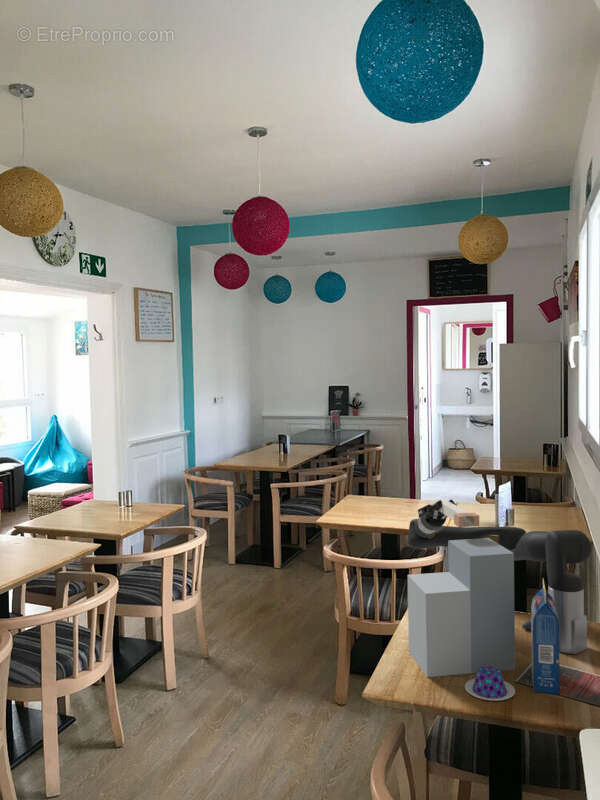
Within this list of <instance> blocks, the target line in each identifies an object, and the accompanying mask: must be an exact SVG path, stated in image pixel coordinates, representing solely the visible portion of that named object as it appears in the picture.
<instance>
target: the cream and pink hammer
mask: <svg viewBox="0 0 600 800" xmlns="http://www.w3.org/2000/svg"><path fill="white" fill-rule="evenodd" d="M439 500H441V501H442V508H441V509H440V510H438V511H440V512H441V513H443V514H445V515H446V516H448V517H447V518H449V519H451V520H453V524H454V525H455V527H480V514H478V513H475V512H469V511H467V510H465V509H463V508H462V507H460V506H458V505H457V504H456V505H454V504H453V503H451V502H449V500H447V499H446V498H445V499H441V498H440V499H435V503H436V502H438V501H439Z"/></svg>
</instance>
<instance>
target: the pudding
mask: <svg viewBox="0 0 600 800" xmlns="http://www.w3.org/2000/svg"><path fill="white" fill-rule="evenodd" d="M475 674H476V675H475V677H474V678H471V679H469V680H468V681H466V682H465V684H464V688H465V690H466V692H467V693H468V694H470V695H471V696H472V697H475V698H478V699H481V700H484V701H485V700H486V701H504V700H508V699H510V698H512V697H513V696H514V695H515V694H516V690H515V687H514V686H513V685H512V684H510V683H509V682H508V681H505V680H504V677H503V672H502V671H500V670H499V669H496V668H495V667H489V666H485V667H481V668H479V669H478V671H477V673H475Z"/></svg>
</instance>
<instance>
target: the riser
mask: <svg viewBox="0 0 600 800" xmlns="http://www.w3.org/2000/svg"><path fill="white" fill-rule="evenodd" d="M447 548H448V549H447V550H448V555H447V556H448V557H447V558H448V571H446V572H445V571H443V572H432V573H431V572H430V573H415V574H407V617H408V619H407V620H408V621H407V622H408V652H409V654H410V655H411V657H412V658H413V660H414V661H415V663H416V664H417V665H418V666H419V668H420V670H421V671H422V673H424V675H425V677H426V678H433V677H436V678H437V677H446V676H457V675H466V674H477V671H478V669H479V668H481V667H485V666H489V667H495V668H496V669H499V670H500V671H501V672H502V671H512V670H516V640H515V639H516V636H515V633H516V631H515V624H516V623H515V618H516V617H515V560H514V553H513V552H511V551H509V550H508V549H506V548H504V547H503V546H501V545H499V544H498V542H497V541H494V540H493V539H491V538H490V537H484V538H481V539H465V540H449V541H448V547H447Z"/></svg>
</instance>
